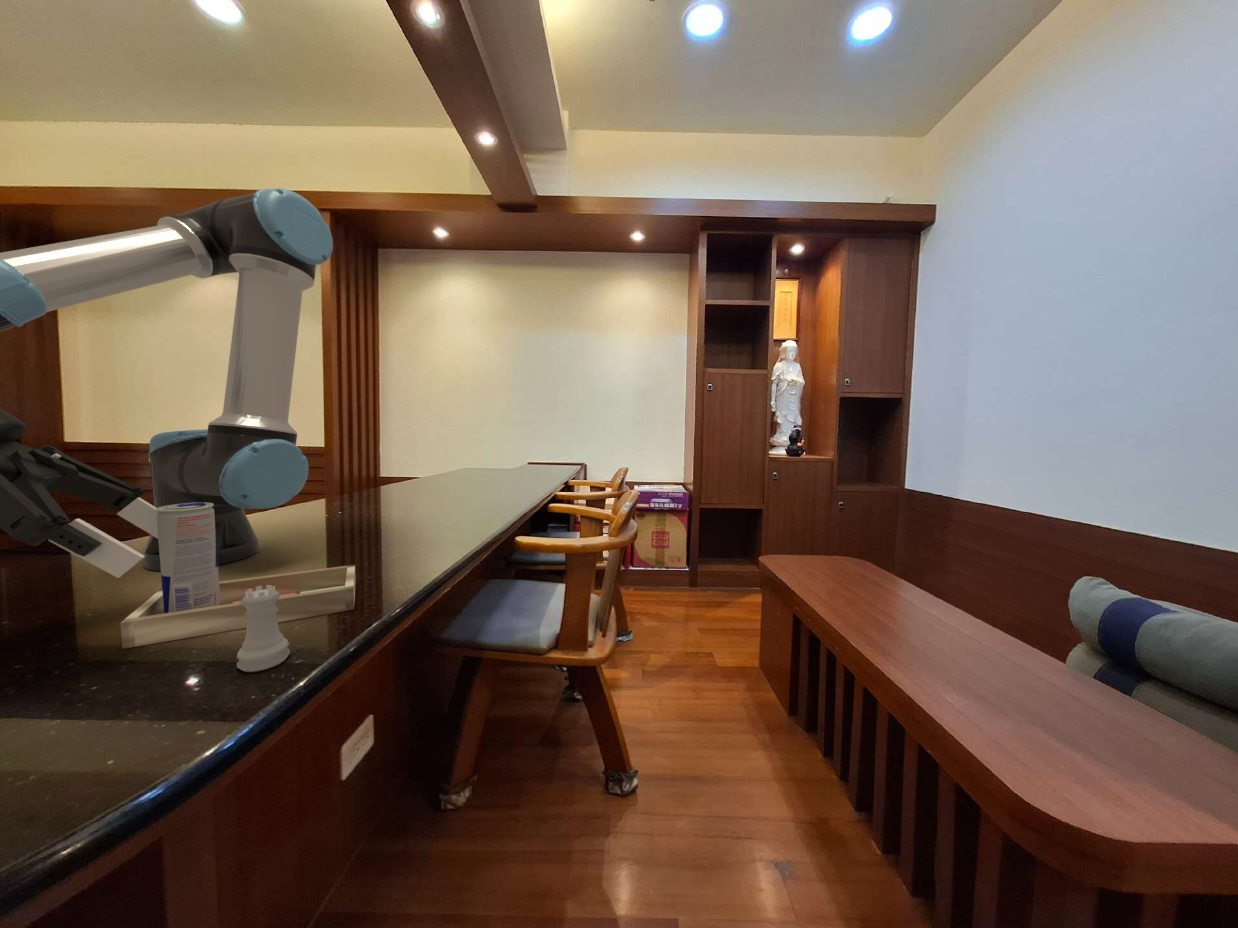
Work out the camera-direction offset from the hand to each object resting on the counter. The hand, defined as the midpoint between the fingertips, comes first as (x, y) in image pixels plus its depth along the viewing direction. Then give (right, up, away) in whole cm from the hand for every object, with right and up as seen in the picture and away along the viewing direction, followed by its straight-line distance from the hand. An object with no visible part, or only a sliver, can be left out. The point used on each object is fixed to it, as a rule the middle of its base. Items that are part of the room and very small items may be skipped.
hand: (159, 550), depth 52 cm
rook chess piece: (+18, -11, -6) cm, 22 cm away
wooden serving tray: (+7, -9, +6) cm, 13 cm away
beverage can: (+1, -10, +3) cm, 10 cm away
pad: (+13, -9, +10) cm, 19 cm away
